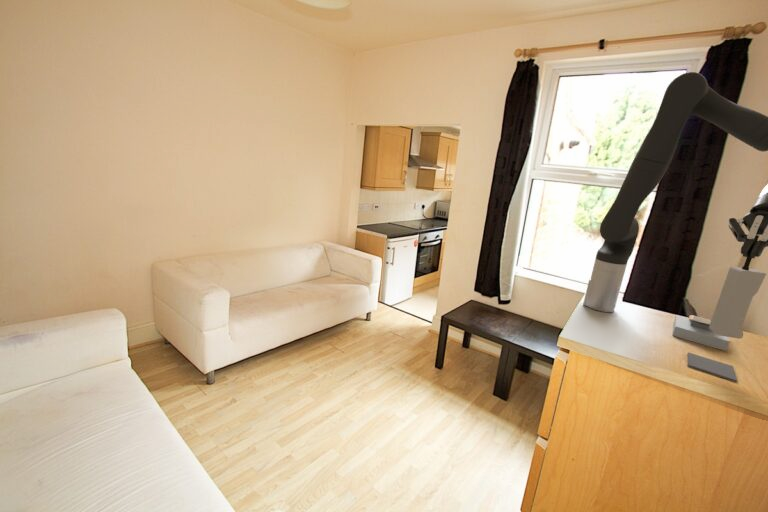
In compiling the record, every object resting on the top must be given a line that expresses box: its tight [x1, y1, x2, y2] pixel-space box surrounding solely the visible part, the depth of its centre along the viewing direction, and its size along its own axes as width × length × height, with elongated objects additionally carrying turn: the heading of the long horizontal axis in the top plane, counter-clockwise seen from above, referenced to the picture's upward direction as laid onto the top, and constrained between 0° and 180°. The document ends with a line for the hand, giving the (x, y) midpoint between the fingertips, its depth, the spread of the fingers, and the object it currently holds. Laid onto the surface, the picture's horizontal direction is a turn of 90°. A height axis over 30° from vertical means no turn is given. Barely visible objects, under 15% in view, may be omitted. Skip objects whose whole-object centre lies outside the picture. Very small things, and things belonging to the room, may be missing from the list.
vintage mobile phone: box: [709, 235, 767, 339], centre depth 84 cm, size 4×5×25 cm
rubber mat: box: [686, 352, 738, 383], centre depth 89 cm, size 9×9×1 cm
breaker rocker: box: [688, 314, 712, 324], centre depth 107 cm, size 6×12×1 cm, turn 140°
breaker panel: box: [672, 314, 730, 352], centre depth 107 cm, size 12×13×4 cm
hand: (748, 255), depth 81 cm, fingers closed on vintage mobile phone, 1 cm apart
